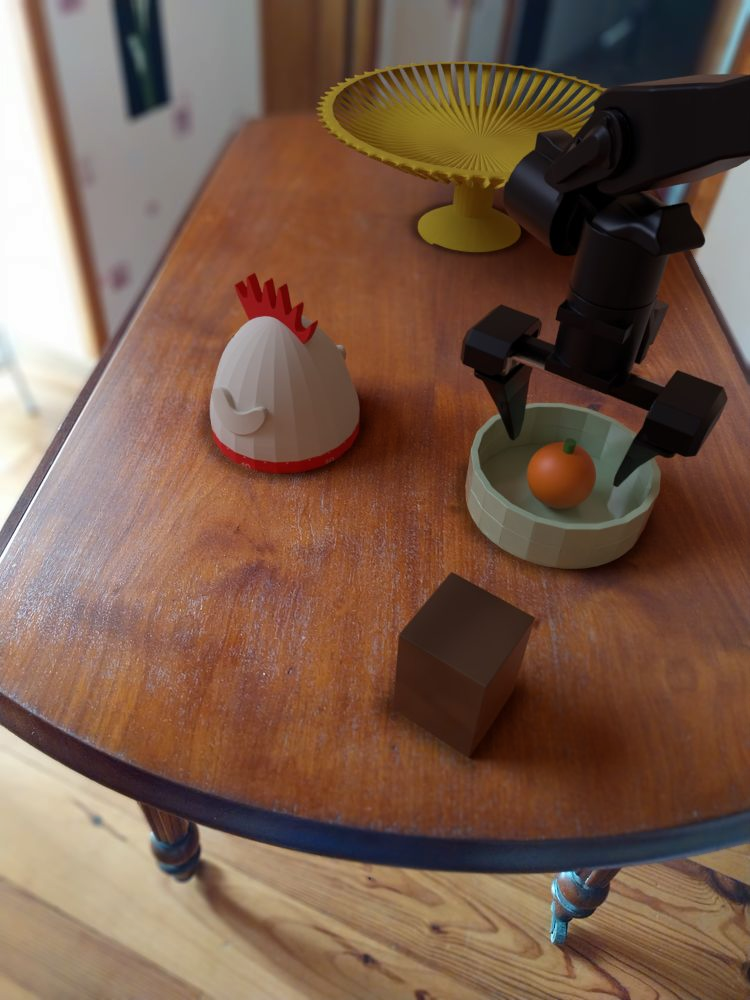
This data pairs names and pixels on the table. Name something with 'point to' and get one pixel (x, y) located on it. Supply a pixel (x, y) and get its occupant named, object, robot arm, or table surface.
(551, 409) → the bowl
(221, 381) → the white chicken figurine
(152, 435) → the table surface
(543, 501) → the toy orange fruit
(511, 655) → the block
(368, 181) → the table surface
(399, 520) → the table surface
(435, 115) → the yellow pedestal fruit stand
